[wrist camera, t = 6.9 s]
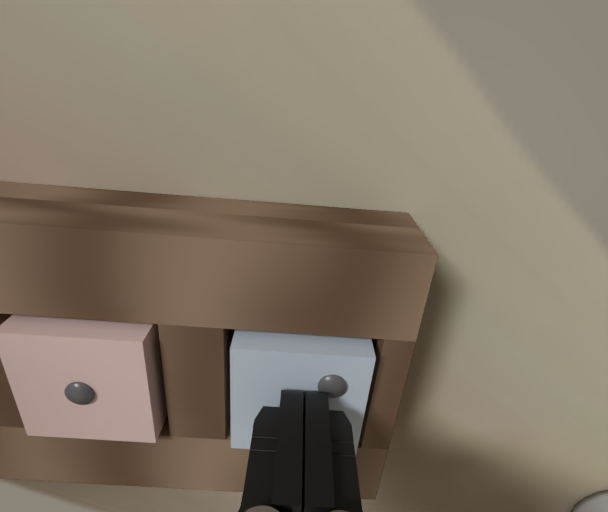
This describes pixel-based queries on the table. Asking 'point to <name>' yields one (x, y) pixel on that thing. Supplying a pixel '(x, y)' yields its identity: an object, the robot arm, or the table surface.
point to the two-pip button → (297, 375)
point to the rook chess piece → (593, 503)
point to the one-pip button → (85, 377)
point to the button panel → (205, 313)
